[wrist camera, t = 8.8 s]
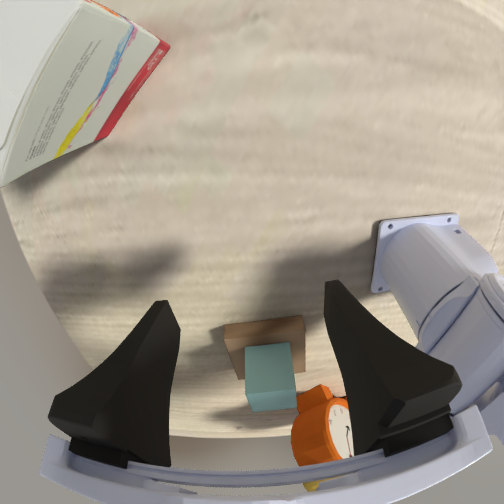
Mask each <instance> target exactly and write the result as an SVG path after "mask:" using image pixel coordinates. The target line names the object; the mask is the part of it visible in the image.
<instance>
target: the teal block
mask: <svg viewBox="0 0 504 504" xmlns="http://www.w3.org/2000/svg"><path fill="white" fill-rule="evenodd" d="M245 395H246V397H247V399H248V402H249V404H250V407H251V409H252V412H261V411H272V410H281V409H289V408H297V399H296V385H295V378H294V370H293V363H292V356H291V349H290V342H284V343H276V344H268V345H260V346H250V347H245Z"/></svg>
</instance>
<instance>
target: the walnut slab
mask: <svg viewBox="0 0 504 504" xmlns="http://www.w3.org/2000/svg"><path fill="white" fill-rule="evenodd" d="M224 342H225V344H226V347H227V350H228V353H229V356H230V358H231V361H232V364H233V366H234V369H235V372H236V375H237V377H238V380H241V379H245V347H250V346H260V345H268V344H276V343H284V342H290V349H291V356H292V363H293V370H294V374H295V373H302V372H305V326H304V322H303V317H302V315H299V316H292V317H285V318H277V319H269V320H261V321H253V322H244V323H235V324H225V327H224Z"/></svg>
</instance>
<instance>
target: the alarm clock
mask: <svg viewBox="0 0 504 504" xmlns="http://www.w3.org/2000/svg"><path fill="white" fill-rule="evenodd" d="M296 399H297V409H298V411H299V415H298V417H297V418H296V419H295V420H294V423H293V426H292V430H291V444H292V449H293V454H294V457H295V459H296V461H297V463H298V465H299V467H300V466H307V465H314V464H320V463H325V462H330V461H335V460H340V459H345V458H349V457H353V456H354V450H353V439H352V430H351V422H350V415H349V409H348V403H347V397H344V398H334V397H333V395H332V394H331V392H330V390H329V388H328V387H326V386H323V385H321V384H320V385H318V386H316V387H314V388H313V389H311V390H309V391H307V392H305V393H303V394H301V395H299V396H297V397H296ZM340 477H341V476H340ZM335 478H337V477H335ZM330 479H334V478H330ZM330 479H325V480H319V481H313V482H306V483H303V485H304V487H305V489H306V490H307V491H308V492H312V491H316V488H317V487H319V485H318V484H319V483H320V482H323V481H326V480H330Z"/></svg>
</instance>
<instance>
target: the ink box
mask: <svg viewBox="0 0 504 504" xmlns="http://www.w3.org/2000/svg"><path fill="white" fill-rule="evenodd" d="M169 49H170V45H168V44H167V43H165V42H164V41H162V40H161V39H159V38H158V37H156V36H155V35H153V34H152V33H150V32H149V31H147V30H145V29H144V28H142V27H141V26H139V25H137V24H136V23H134V22H132V21H131V20H129V19H127V18H126V17H124V16H122V15H120V14H118V13H117V12H115V11H113V10H111V9H109V8H107V7H105V6H103V5H101V4H99V3H97V2H95V1H92V0H0V187H3V186H5V185H7V184H8V183H10V182H12V181H13V180H15V179H17V178H19V177H20V176H22V175H24V174H26V173H28V172H30V171H31V170H33V169H35V168H37V167H39V166H41V165H43V164H45V163H47V162H49V161H51V160H53V159H55V158H57V157H59V156H62V155H64V154H66V153H69V152H71V151H73V150H75V149H78V148H80V147H82V146H85V145H87V144H90V143H92V142H94V141H97V140H99V139H102V138H105V137H107V136H108V135H109V134H110V132H111V131H112V129H113V128H114V126H115V125H116V123H117V122H118V120H119V119H120V117H121V116H122V114H123V113H124V111H125V110H126V108H127V107H128V105H129V104H130V102H131V101H132V99H133V98H134V96H135V95H136V93H137V92H138V91H139V89H140V88H141V86H142V85H143V84H144V82H145V81H146V80H147V78H148V77H149V76H150V75H151V73H152V72H153V71H154V69H155V68H156V67H157V65H158V64H159V63H160V61H161V60H162V59H163V57H164V56H165V55H166V53H167V52H168V51H169Z"/></svg>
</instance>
